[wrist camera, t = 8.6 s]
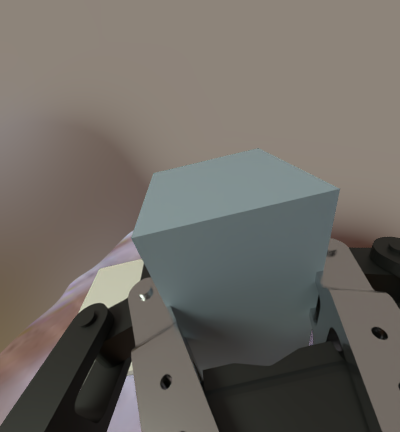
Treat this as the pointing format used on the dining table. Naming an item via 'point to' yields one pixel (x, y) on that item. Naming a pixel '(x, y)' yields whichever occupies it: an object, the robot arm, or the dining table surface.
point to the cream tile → (114, 286)
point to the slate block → (237, 253)
